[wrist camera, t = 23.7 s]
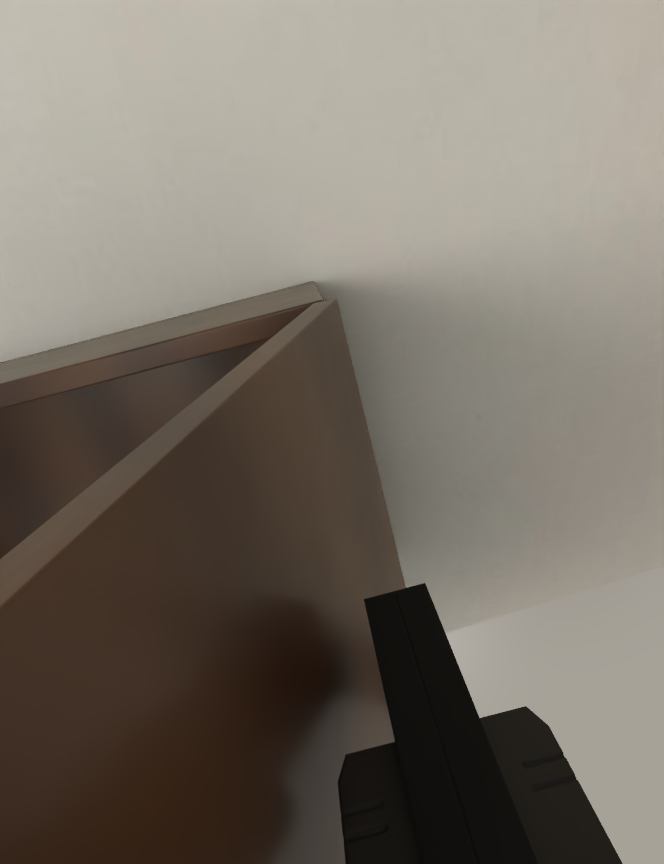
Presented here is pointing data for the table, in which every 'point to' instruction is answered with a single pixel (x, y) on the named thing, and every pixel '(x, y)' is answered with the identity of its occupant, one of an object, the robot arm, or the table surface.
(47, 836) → the chest lid
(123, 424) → the chest
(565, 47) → the table surface
